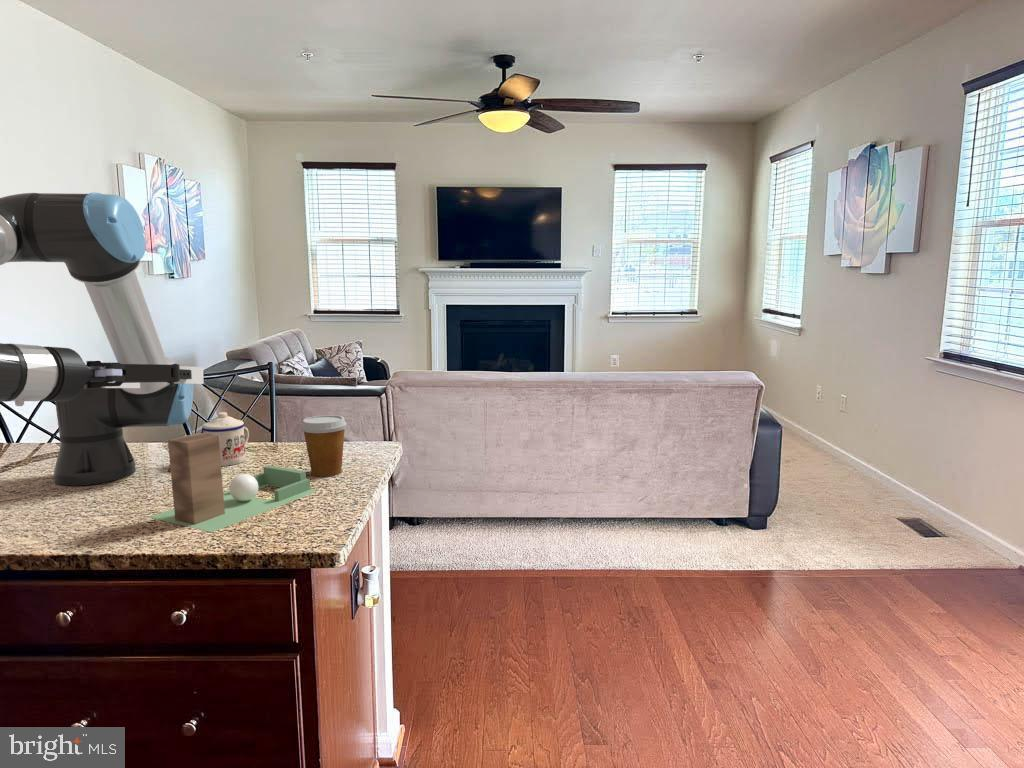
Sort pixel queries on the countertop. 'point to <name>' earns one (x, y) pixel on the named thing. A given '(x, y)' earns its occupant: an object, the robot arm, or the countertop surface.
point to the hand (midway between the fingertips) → (169, 378)
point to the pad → (253, 499)
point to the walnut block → (196, 477)
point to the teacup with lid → (229, 438)
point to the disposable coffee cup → (324, 443)
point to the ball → (243, 487)
